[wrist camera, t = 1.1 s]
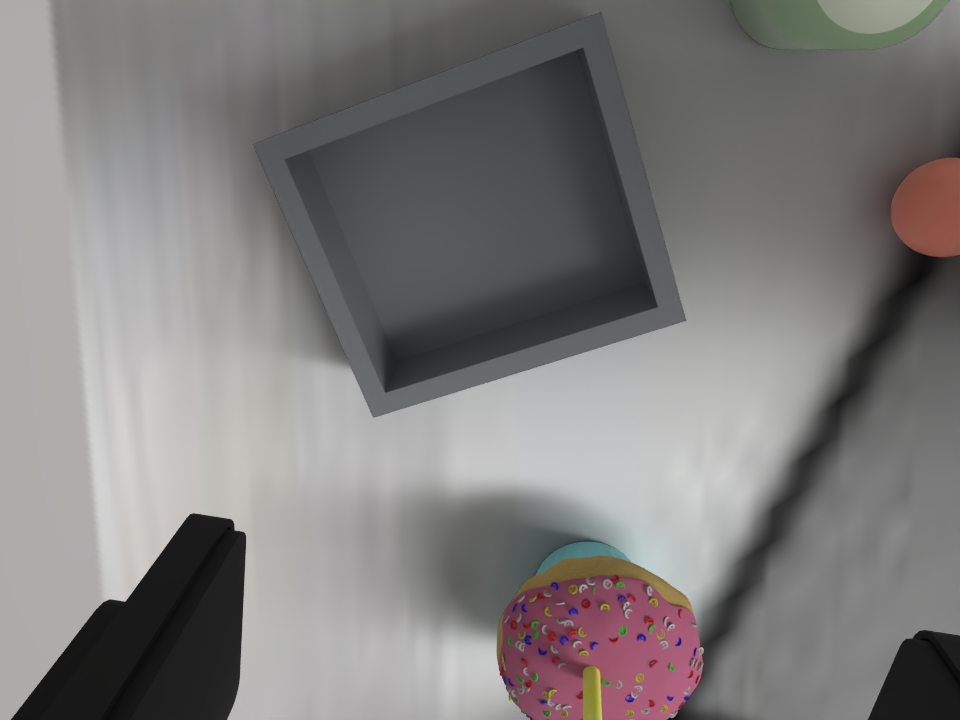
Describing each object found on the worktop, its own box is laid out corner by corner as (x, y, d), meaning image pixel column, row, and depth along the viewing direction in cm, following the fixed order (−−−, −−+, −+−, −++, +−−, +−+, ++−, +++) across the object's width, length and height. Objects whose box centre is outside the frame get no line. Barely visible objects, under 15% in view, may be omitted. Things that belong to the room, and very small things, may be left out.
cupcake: (464, 552, 37) (441, 773, 25) (629, 473, 35) (683, 674, 24) (553, 680, 39) (568, 931, 28) (711, 613, 37) (795, 853, 26)
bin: (589, 17, 28) (600, 12, 24) (666, 288, 32) (686, 320, 28) (285, 132, 30) (252, 144, 26) (389, 376, 34) (373, 417, 30)
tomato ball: (964, 138, 29) (1020, 149, 26) (976, 227, 30) (1031, 249, 27) (867, 170, 30) (910, 185, 26) (882, 256, 31) (926, 281, 28)
